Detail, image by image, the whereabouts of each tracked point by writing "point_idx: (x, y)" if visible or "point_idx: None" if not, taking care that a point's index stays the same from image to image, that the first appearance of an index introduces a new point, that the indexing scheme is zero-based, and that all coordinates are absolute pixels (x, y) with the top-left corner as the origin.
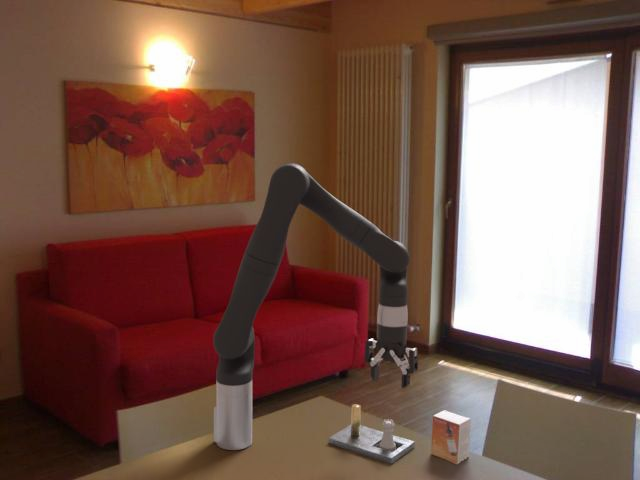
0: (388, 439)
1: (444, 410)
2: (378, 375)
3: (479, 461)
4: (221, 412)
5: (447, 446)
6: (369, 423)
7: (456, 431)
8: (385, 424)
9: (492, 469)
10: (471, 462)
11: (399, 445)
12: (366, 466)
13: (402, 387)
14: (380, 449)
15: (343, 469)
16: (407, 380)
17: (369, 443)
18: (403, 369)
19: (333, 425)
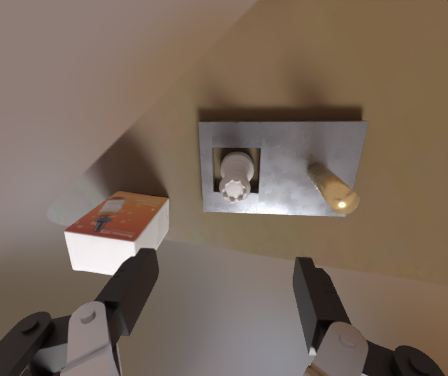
0: (229, 167)
1: None
2: (296, 295)
3: None
4: None
5: (124, 204)
6: (321, 242)
7: (82, 221)
8: (235, 177)
9: (74, 206)
10: None
11: None
12: (235, 77)
13: (148, 248)
14: (237, 143)
15: (270, 25)
16: (111, 279)
17: (271, 153)
18: (87, 331)
19: (387, 199)
